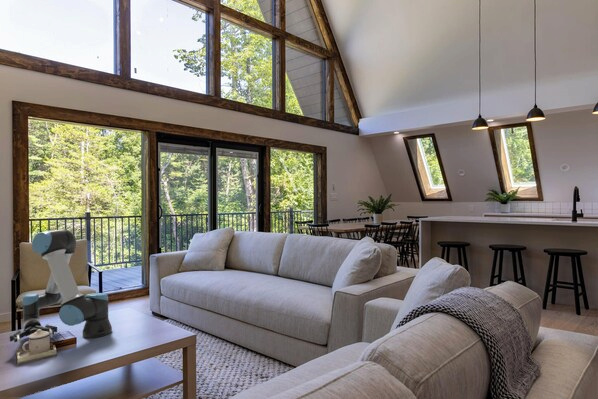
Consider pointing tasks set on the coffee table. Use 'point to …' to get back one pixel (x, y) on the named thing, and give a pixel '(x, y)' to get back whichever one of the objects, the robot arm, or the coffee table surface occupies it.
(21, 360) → the brass cradle
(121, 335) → the coffee table surface
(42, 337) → the teacup with lid
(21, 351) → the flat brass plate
